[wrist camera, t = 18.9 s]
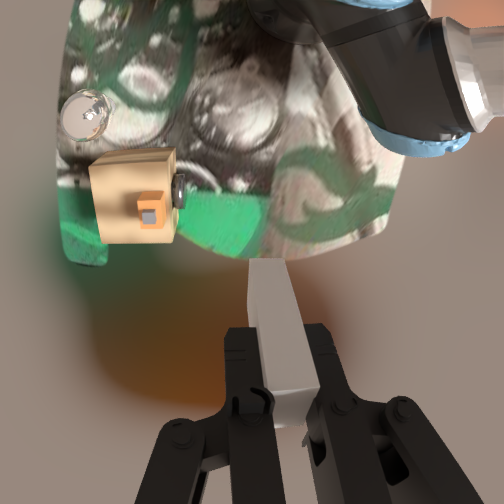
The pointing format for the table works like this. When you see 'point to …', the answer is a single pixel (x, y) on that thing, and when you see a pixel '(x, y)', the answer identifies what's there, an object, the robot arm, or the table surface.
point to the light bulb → (86, 115)
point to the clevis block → (132, 193)
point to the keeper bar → (152, 210)
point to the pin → (179, 191)
